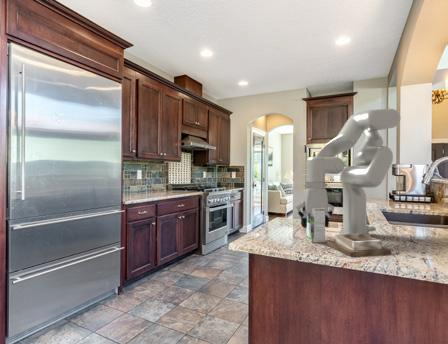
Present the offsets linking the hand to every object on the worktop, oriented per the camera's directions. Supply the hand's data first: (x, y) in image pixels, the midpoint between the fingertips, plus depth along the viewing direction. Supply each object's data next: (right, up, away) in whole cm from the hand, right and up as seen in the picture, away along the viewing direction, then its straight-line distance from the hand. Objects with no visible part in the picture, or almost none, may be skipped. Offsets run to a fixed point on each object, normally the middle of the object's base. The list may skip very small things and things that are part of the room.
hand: (314, 226), depth 110 cm
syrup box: (0, -6, 0) cm, 6 cm away
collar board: (+12, -6, -12) cm, 18 cm away
